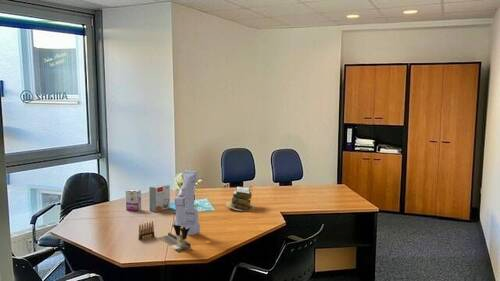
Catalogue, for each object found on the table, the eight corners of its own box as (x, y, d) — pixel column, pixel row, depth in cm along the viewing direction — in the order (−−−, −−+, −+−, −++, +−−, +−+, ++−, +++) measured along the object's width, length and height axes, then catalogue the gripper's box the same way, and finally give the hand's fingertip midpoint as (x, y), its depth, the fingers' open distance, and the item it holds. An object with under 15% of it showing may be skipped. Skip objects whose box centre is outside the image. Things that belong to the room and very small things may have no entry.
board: (169, 236, 275) (169, 232, 274) (190, 248, 255) (190, 243, 255) (157, 240, 269) (157, 235, 269) (177, 252, 249) (177, 247, 249)
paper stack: (258, 205, 352) (258, 186, 350) (250, 213, 328) (250, 192, 326) (231, 202, 359) (231, 184, 357) (221, 210, 335) (221, 190, 333)
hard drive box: (155, 212, 329) (155, 188, 327) (149, 210, 334) (148, 186, 331) (170, 208, 341) (169, 184, 339) (164, 206, 346) (163, 183, 343)
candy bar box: (141, 209, 337) (141, 189, 335) (138, 211, 332) (138, 191, 330) (129, 208, 339) (128, 189, 337) (126, 210, 334) (125, 190, 332)
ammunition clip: (153, 238, 273) (152, 220, 271) (154, 238, 271) (154, 221, 270) (138, 241, 266) (137, 223, 264) (139, 242, 264) (139, 224, 263)
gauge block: (182, 243, 259) (182, 234, 259) (185, 245, 256) (185, 236, 256) (176, 245, 257) (176, 235, 256) (180, 246, 254) (180, 237, 253)
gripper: (169, 214, 257) (169, 235, 259) (181, 220, 246) (181, 242, 248) (179, 212, 262) (179, 232, 263) (191, 217, 251) (191, 239, 252)
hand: (181, 237), depth 256 cm, fingers open, 7 cm apart
